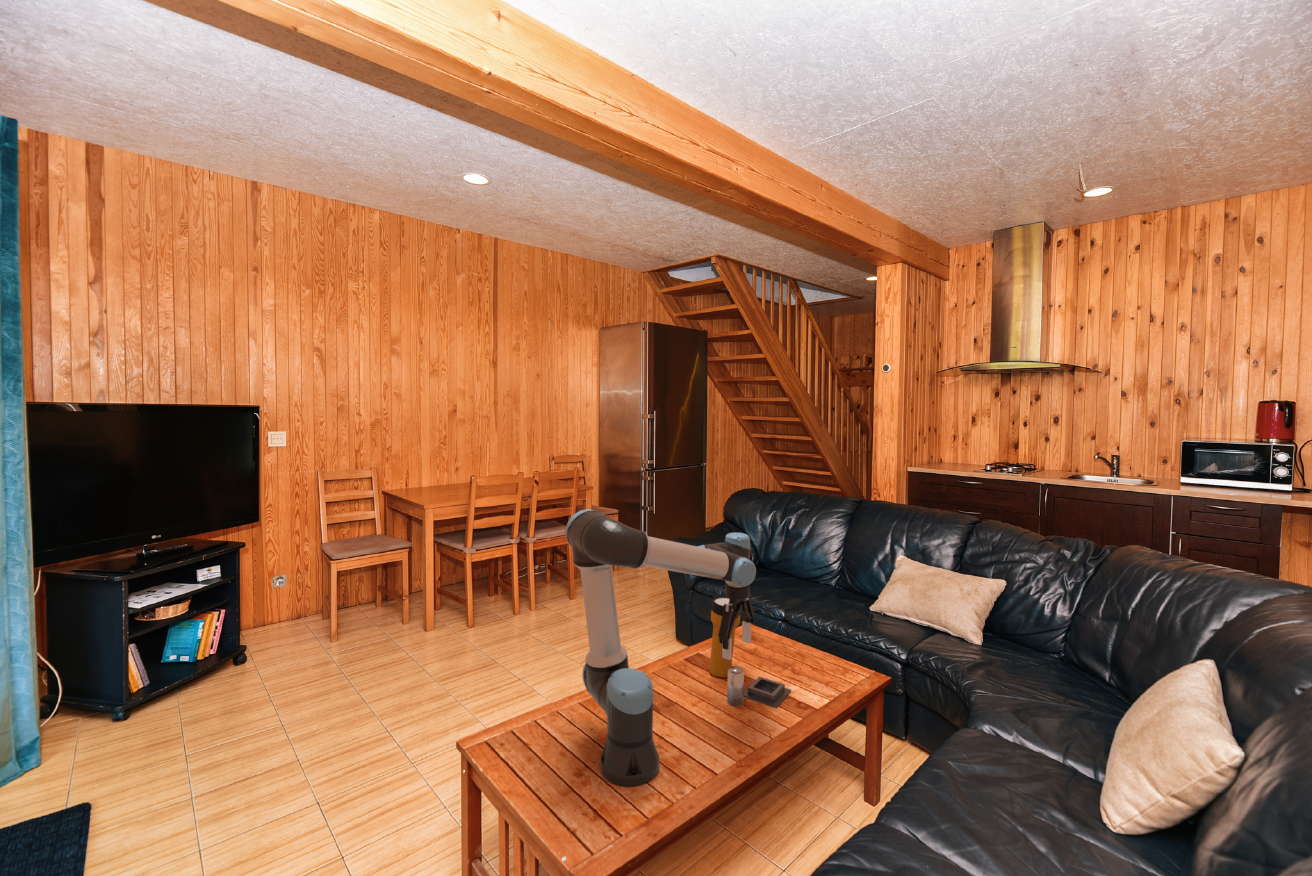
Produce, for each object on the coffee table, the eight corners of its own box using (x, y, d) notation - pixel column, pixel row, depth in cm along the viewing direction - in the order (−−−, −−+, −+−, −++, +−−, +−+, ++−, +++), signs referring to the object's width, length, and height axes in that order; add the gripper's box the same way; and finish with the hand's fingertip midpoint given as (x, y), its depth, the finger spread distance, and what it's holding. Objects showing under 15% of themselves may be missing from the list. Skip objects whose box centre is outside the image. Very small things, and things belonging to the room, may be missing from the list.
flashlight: (743, 597, 195) (739, 608, 186) (736, 668, 198) (732, 682, 189) (715, 592, 198) (710, 602, 189) (709, 662, 201) (703, 675, 191)
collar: (776, 708, 173) (776, 699, 173) (741, 696, 180) (741, 688, 179) (791, 691, 183) (791, 683, 182) (756, 680, 189) (757, 673, 189)
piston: (739, 707, 173) (739, 674, 172) (724, 702, 176) (725, 669, 175) (746, 700, 177) (746, 668, 176) (731, 695, 180) (732, 663, 179)
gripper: (729, 597, 161) (729, 669, 163) (765, 575, 182) (764, 638, 183) (706, 592, 166) (706, 662, 167) (744, 570, 186) (743, 633, 188)
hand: (736, 650), depth 175 cm, fingers open, 13 cm apart
